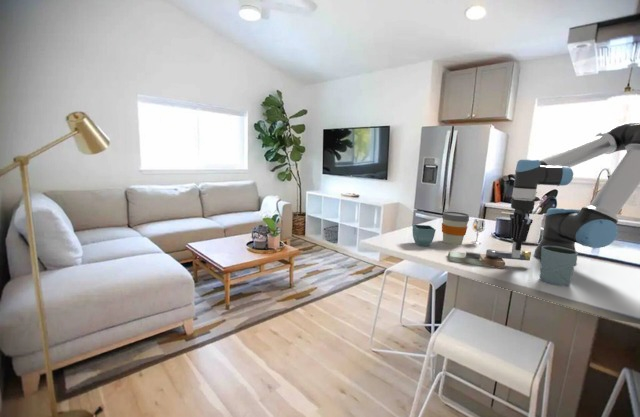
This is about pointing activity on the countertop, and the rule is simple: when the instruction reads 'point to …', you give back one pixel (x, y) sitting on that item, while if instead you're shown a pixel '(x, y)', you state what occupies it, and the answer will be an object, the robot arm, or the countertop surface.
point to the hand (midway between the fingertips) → (515, 257)
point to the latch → (507, 254)
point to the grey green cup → (557, 265)
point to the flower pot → (423, 234)
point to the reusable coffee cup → (454, 227)
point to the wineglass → (478, 228)
